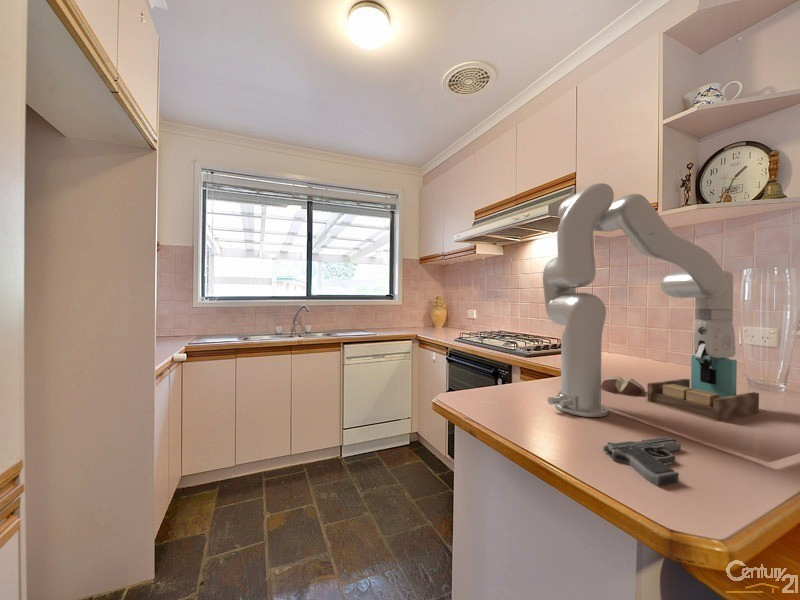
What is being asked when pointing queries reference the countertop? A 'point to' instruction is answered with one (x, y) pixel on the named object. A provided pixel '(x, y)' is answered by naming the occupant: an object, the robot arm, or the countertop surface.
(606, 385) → the bread
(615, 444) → the handgun
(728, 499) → the countertop surface
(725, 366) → the panel
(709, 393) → the offcut right
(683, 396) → the offcut left
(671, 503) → the countertop surface
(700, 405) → the rack
